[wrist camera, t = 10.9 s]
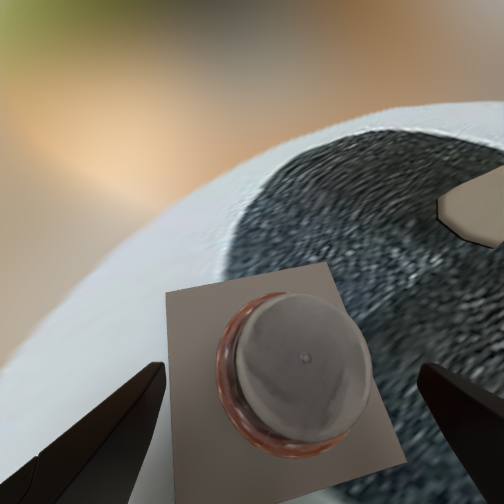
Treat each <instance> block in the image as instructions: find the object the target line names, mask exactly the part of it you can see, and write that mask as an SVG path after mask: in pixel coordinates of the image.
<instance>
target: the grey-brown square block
mask: <svg viewBox="0 0 504 504" xmlns="http://www.w3.org/2000/svg"><path fill="white" fill-rule="evenodd" d="M281 291H284V292H302V293H309V294H314V295H317V296H320V297H323V298H325V299H327V300H329V301H331V302H332V303H334V304H336V305H337V306H338V307H339V308H341V309H342V310H344V311H345V312H346V310H345V307H344V305H343V302H342V300H341V297H340V295H339V293H338V290H337V288H336V285H335V283H334V280H333V278H332V275H331V273H330V270H329V268H328V265H327V263H326V262H322V263H317V264H311V265H306V266H301V267H296V268H291V269H286V270H281V271H275V272H270V273H265V274H260V275H255V276H250V277H244V278H239V279H234V280H229V281H224V282H219V283H213V284H208V285H203V286H198V287H193V288H188V289H182V290H177V291H172V292H167V293H166V315H167V337H168V358H169V380H170V402H171V423H172V445H173V467H174V489H175V504H277V503H280V502H283V501H287V500H290V499H293V498H296V497H299V496H302V495H305V494H308V493H312V492H315V491H318V490H321V489H324V488H327V487H330V486H334V485H337V484H340V483H343V482H346V481H349V480H352V479H355V478H359V477H362V476H365V475H368V474H371V473H374V472H377V471H381V470H384V469H387V468H390V467H393V466H396V465H399V464H402V463H406V462H407V460H406V458H405V455H404V453H403V450H402V448H401V445H400V443H399V440H398V438H397V436H396V433H395V431H394V428H393V426H392V423H391V421H390V418H389V416H388V413H387V411H386V408H385V406H384V403H383V401H382V399H381V396H380V394H379V391H378V389H377V386H376V384H375V381H374V379H373V376H372V387H371V394H370V397H369V401H368V404H367V406H366V408H365V410H364V412H363V413H362V415H361V417H360V418H359V419H358V421H357V422H356V423H355V424H354V425H353V426H352V428H351V429H350V431H349V432H348V433H347V435H346V436H345V437H344V438H343V439H342V440H341V441H340V442H339V443H338V444H336V445H335V446H334V447H332V448H331V449H329V450H328V451H326V452H324V453H321V454H319V455H316V456H313V457H310V458H304V459H288V458H281V457H277V456H274V455H271V454H268V453H266V452H264V451H262V450H260V449H259V448H257V447H255V446H254V445H252V444H251V443H250V442H248V441H247V440H246V439H245V438H244V437H243V436H242V435H241V434H240V433H239V432H238V431H237V429H236V428H235V427H234V425H233V424H232V422H231V421H230V420H229V418H228V416H227V415H226V413H225V410H224V408H223V406H222V404H221V401H220V398H219V395H218V390H217V385H216V375H215V362H216V353H217V349H218V346H219V342H220V338H221V336H222V334H223V332H224V330H225V328H226V326H227V324H228V323H229V322H230V320H231V319H232V317H233V316H234V315H235V314H236V313H237V312H238V311H239V310H240V309H241V308H242V307H243V306H244V305H246V304H247V303H249V302H250V301H252V300H254V299H256V298H257V297H259V296H262V295H265V294H268V293H273V292H281ZM346 313H347V312H346Z"/></svg>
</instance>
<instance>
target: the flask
mask: <svg viewBox="0 0 504 504" xmlns="http://www.w3.org/2000/svg"><path fill="white" fill-rule="evenodd" d="M438 219H439V220H440V221H442V222H443V223H444V224H445V225H447V226H448V227H449V228H450V229H452V230H453V231H454V232H455V233H456V234H458V235H459V236H460V237H461V238H463V239H465V240H468V241H472V242H475V243H479V244H482V245H486V246H489V247H493V248H496V247H497V246H499V245H500V244H501V243H502V242H503V241H504V165H503V166H501V167H499V168H497V169H495V170H493V171H491V172H489V173H486V174H484V175H482V176H479V177H477V178H475V179H473V180H470V181H468V182H466V183H463V184H461V185H459V186H457V187H455V188H453V189H451V190H450V191H448V192H447V193H445V194H444V195H442V196H441V197H439V198H438Z"/></svg>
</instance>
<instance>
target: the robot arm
mask: <svg viewBox="0 0 504 504" xmlns="http://www.w3.org/2000/svg"><path fill="white" fill-rule="evenodd" d="M417 387H418V389H419V391H420V393H421V395H422V397H423V399H424V401H425V402H426V404H427V406H428V408H429V410H430V412H431V413H432V415H433V417H434V419H435V421H436V423H437V424H438V426H439V428H440V430H441V432H442V433H443V435H444V437H445V439H446V440H447V442H448V443H449V445H450V447H451V448H452V450H453V451H454V453H455V454H456V456H457V457H458V459H459V461H460V462H461V464H462V465H463V467H464V468H465V470H466V471H467V473H468V474H469V476H470V478H471V479H472V481H473V482H474V484H475V485H476V487H477V488H478V490H479V491H480V493H481V494H482V496H483V498H484V499H485V501H486V502H487V504H504V399H502V398H500V397H498V396H496V395H495V394H493V393H491V392H489V391H487V390H485V389H483V388H481V387H480V386H478V385H476V384H474V383H472V382H470V381H468V380H466V379H464V378H463V377H461V376H459V375H457V374H455V373H453V372H451V371H449V370H448V369H446V368H444V367H442V366H440V365H438V364H435V363H424V364H422V365H421V368H420V372H419V375H418V379H417ZM165 389H166V372H165V364H164V363H163V362H151V363H150V364H148V365H147V366H146V367H145V368H143V369H142V370H141V371H140V372H138V373H137V374H136V375H135V376H134V377H132V378H131V379H130V380H129V381H127V382H126V383H125V384H124V385H122V386H121V387H120V388H119V389H118V390H116V391H115V392H114V393H113V394H111V395H110V396H109V397H108V398H106V399H105V400H104V401H103V402H102V403H100V404H99V405H98V406H97V407H95V408H94V409H93V410H92V411H90V412H89V413H88V414H87V415H86V416H84V417H83V418H82V419H81V420H79V421H78V422H77V423H76V424H74V425H73V426H72V427H71V428H69V429H68V430H67V431H66V432H65V433H63V434H62V435H61V436H60V437H58V438H57V439H56V440H55V441H53V442H52V443H51V444H50V445H49V446H47V447H46V448H45V449H44V450H42V451H41V452H40V453H39V454H38V456H35V457H34V458H32V459H31V460H30V461H29V462H27V463H26V464H25V465H24V466H22V467H21V468H20V469H19V470H18V471H16V472H15V473H14V474H12V475H11V476H10V477H9V478H7V479H6V480H5V481H4V482H2V483H1V484H0V504H128V501H129V498H130V496H131V493H132V490H133V488H134V485H135V482H136V480H137V477H138V474H139V472H140V469H141V466H142V464H143V461H144V459H145V456H146V453H147V451H148V448H149V445H150V442H151V439H152V436H153V433H154V429H155V426H156V422H157V418H158V415H159V411H160V407H161V404H162V400H163V396H164V393H165Z"/></svg>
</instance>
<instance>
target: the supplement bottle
mask: <svg viewBox="0 0 504 504" xmlns="http://www.w3.org/2000/svg"><path fill="white" fill-rule="evenodd" d="M215 375H216V385H217V390H218V395H219V398H220V401H221V404H222V406H223V408H224V410H225V413H226V415H227V416H228V418H229V420H230V421H231V422H232V424H233V425H234V427H235V428H236V429H237V431H238V432H239V433H240V434H241V435H242V436H243V437H244V438H245V439H246V440H247V441H248V442H250V443H251V444H252V445H254V446H255V447H257V448H259V449H260V450H262V451H264V452H266V453H268V454H271V455H274V456H277V457H281V458H288V459H304V458H310V457H313V456H316V455H319V454H321V453H324V452H326V451H328V450H329V449H331V448H332V447H334V446H335V445H336V444H338V443H339V442H340V441H341V440H342V439H343V438H344V437H345V436H346V435H347V433H348V432H349V431H350V429H351V428H352V426H353V425H354V424H355V423H356V422H357V421H358V419H359V418H360V417H361V415H362V413H363V412H364V410H365V408H366V406H367V404H368V401H369V397H370V394H371V387H372V376H373V373H372V363H371V357H370V353H369V350H368V347H367V344H366V341H365V339H364V337H363V335H362V333H361V331H360V329H359V328H358V326H357V325H356V324H355V322H354V321H353V320H352V319H351V318H350V317H349V316H348V315H347V313H346V312H345V311H344V310H342V309H341V308H339V307H338V306H337V305H336V304H334V303H332V302H331V301H329V300H327V299H325V298H323V297H320V296H317V295H314V294H309V293H302V292H284V291H281V292H273V293H268V294H265V295H262V296H259V297H257V298H256V299H254V300H252V301H250V302H249V303H247V304H246V305H244V306H243V307H242V308H241V309H240V310H239V311H238V312H237V313H236V314H235V315H234V316H233V317H232V319H231V320H230V322H229V323H228V324H227V326H226V328H225V330H224V332H223V334H222V336H221V338H220V342H219V346H218V349H217V353H216V362H215Z"/></svg>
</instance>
